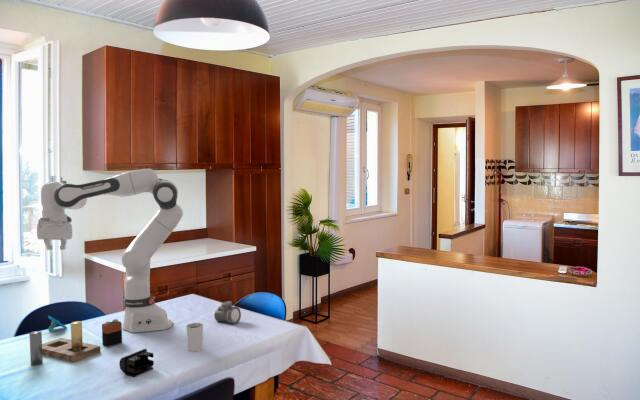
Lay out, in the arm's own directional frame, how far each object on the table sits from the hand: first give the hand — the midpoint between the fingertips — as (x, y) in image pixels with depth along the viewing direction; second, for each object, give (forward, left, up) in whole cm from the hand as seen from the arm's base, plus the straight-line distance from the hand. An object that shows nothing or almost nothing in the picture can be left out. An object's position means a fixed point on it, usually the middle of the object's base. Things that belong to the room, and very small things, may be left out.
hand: (56, 249), depth 217 cm
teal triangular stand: (+5, -11, -39) cm, 41 cm away
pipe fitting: (-72, -13, -39) cm, 83 cm away
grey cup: (-62, +23, -39) cm, 77 cm away
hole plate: (-11, +20, -39) cm, 45 cm away
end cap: (-44, +43, -39) cm, 73 cm away
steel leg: (-4, +31, -39) cm, 50 cm away
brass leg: (-16, +24, -39) cm, 48 cm away
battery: (-26, +12, -39) cm, 49 cm away
